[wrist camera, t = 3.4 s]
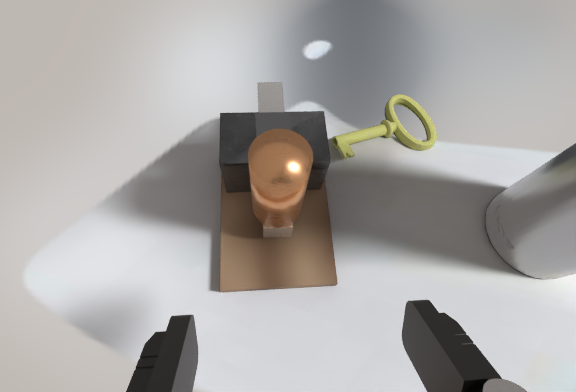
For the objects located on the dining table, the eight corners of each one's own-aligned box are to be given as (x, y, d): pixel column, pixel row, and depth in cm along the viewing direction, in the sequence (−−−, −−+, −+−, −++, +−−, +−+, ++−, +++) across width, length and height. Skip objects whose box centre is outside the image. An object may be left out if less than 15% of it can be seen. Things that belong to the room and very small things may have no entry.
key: (324, 149, 37) (328, 138, 35) (400, 94, 40) (407, 82, 38) (372, 197, 35) (379, 188, 33) (447, 135, 38) (457, 123, 36)
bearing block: (315, 145, 35) (323, 111, 30) (320, 189, 33) (330, 160, 28) (227, 147, 34) (220, 113, 29) (226, 192, 32) (219, 163, 27)
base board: (318, 150, 36) (320, 145, 35) (335, 285, 30) (337, 283, 29) (223, 153, 35) (222, 147, 34) (221, 292, 29) (220, 290, 28)
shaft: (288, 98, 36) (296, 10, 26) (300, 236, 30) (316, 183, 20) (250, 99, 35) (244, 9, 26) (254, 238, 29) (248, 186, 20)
